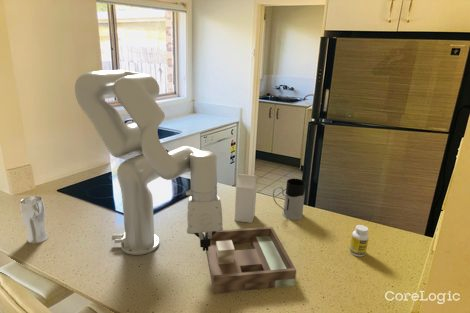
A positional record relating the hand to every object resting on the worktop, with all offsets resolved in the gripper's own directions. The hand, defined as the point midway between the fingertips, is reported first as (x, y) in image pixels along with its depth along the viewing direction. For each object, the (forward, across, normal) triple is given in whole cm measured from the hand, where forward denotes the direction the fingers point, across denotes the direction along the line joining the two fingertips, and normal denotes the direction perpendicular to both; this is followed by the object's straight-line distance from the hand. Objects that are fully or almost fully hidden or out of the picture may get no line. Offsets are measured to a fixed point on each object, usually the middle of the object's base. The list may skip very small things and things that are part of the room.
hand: (205, 248), depth 100 cm
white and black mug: (+8, +37, +30) cm, 48 cm away
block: (+5, +6, +1) cm, 8 cm away
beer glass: (+5, -56, +24) cm, 61 cm away
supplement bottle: (+9, +53, +2) cm, 54 cm away
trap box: (+8, +13, +1) cm, 15 cm away
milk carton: (+7, +19, +30) cm, 36 cm away
